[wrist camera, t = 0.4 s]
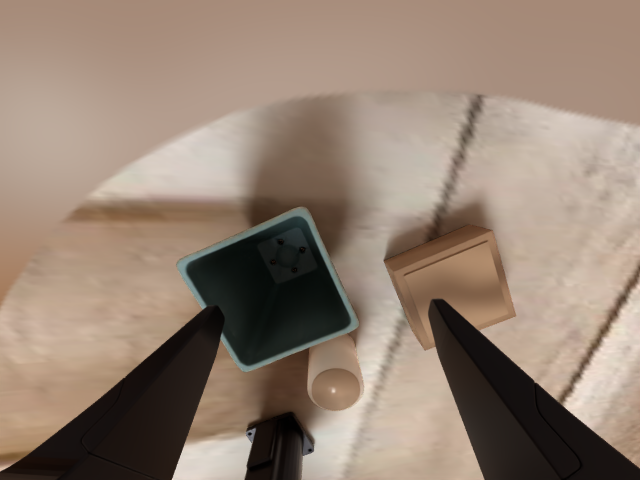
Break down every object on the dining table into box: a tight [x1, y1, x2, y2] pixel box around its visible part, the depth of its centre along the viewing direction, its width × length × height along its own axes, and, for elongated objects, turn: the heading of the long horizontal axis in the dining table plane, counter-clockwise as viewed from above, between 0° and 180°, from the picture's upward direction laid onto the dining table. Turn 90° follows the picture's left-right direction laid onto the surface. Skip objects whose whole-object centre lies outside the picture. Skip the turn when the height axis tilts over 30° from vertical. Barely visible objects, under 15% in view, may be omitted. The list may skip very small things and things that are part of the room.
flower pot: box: [176, 207, 359, 372], centre depth 18 cm, size 9×9×9 cm
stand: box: [384, 225, 516, 350], centre depth 22 cm, size 9×9×3 cm
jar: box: [307, 334, 364, 411], centre depth 23 cm, size 5×5×5 cm
